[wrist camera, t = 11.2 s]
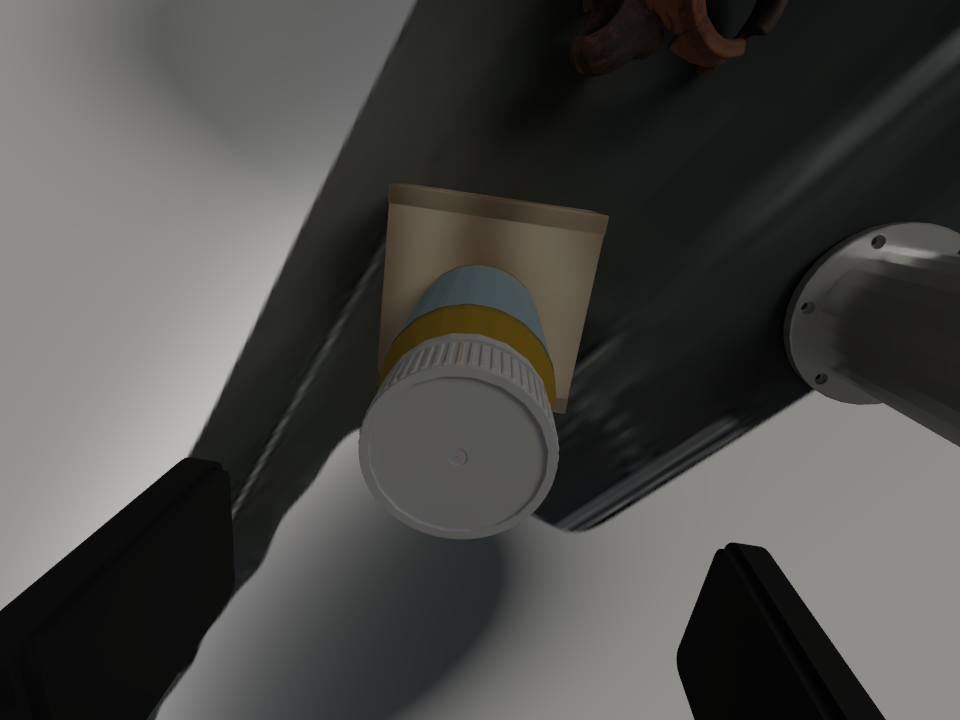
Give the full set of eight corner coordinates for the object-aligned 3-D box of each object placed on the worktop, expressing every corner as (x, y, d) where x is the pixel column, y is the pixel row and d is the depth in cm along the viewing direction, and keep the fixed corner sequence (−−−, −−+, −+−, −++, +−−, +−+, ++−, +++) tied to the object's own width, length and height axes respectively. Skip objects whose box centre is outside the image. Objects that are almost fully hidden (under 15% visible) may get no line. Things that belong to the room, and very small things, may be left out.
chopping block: (590, 210, 32) (608, 216, 26) (555, 377, 36) (564, 413, 30) (409, 183, 32) (389, 183, 26) (395, 354, 36) (375, 385, 30)
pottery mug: (656, -158, 26) (804, -235, 20) (705, 14, 32) (830, -3, 26) (502, 8, 26) (598, -15, 20) (579, 147, 32) (671, 164, 26)
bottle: (500, 393, 30) (501, 580, 16) (400, 342, 29) (309, 494, 15) (559, 298, 28) (620, 421, 14) (452, 239, 27) (402, 306, 13)
